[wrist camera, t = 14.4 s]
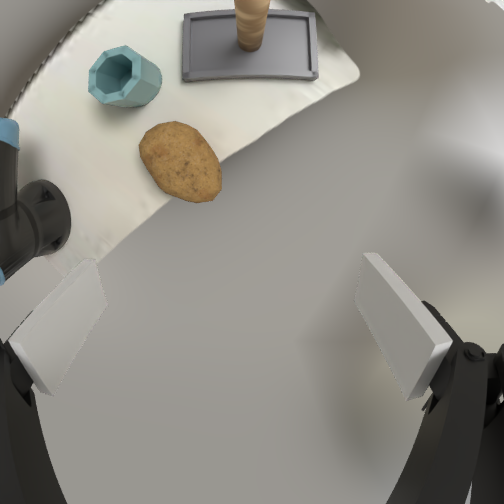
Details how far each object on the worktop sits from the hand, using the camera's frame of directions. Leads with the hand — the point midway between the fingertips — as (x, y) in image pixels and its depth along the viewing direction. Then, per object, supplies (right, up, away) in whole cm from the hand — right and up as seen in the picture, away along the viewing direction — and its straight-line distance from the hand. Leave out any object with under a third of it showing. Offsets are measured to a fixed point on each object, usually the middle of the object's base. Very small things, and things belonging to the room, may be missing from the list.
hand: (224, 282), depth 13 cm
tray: (+1, +33, +21) cm, 39 cm away
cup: (-17, +28, +23) cm, 40 cm away
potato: (-9, +16, +29) cm, 34 cm away
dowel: (+1, +33, +20) cm, 38 cm away
